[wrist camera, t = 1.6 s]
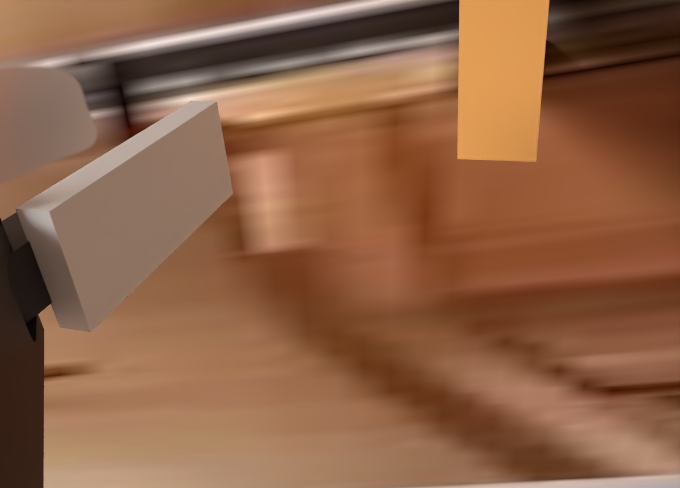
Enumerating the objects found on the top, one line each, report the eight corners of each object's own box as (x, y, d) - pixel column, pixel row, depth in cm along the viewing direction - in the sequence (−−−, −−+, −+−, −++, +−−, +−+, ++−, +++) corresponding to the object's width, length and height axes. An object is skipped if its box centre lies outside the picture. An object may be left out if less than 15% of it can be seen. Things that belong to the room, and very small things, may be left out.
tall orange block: (492, -84, 30) (460, -65, 20) (556, -90, 29) (555, -71, 20) (486, 77, 34) (457, 158, 24) (542, 77, 33) (535, 161, 24)
